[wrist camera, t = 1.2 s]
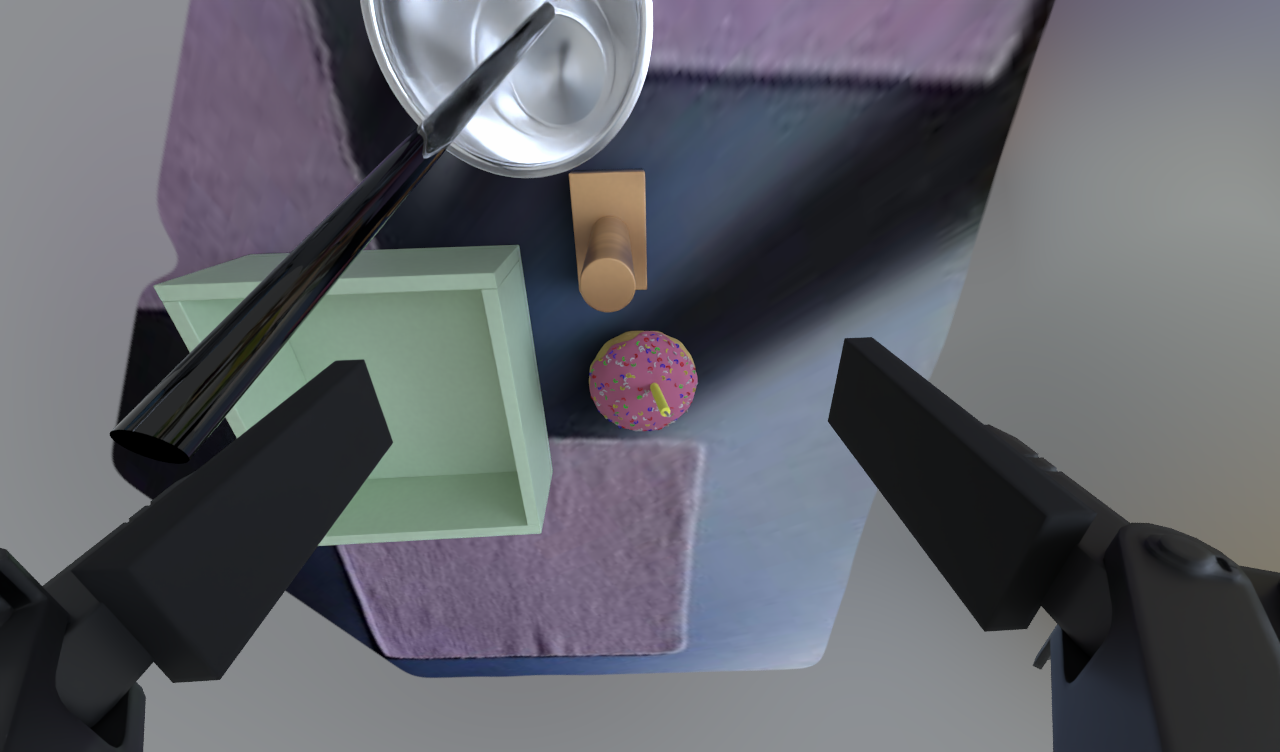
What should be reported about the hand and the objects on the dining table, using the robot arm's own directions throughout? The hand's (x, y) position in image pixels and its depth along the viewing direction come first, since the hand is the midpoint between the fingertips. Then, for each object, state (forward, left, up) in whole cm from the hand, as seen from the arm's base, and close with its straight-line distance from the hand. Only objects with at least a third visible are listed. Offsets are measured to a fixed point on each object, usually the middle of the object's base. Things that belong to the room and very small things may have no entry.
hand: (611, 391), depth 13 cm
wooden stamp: (0, 0, -24) cm, 24 cm away
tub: (+12, -17, -24) cm, 32 cm away
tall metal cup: (-9, -3, -24) cm, 26 cm away
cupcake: (+11, +2, -24) cm, 27 cm away
